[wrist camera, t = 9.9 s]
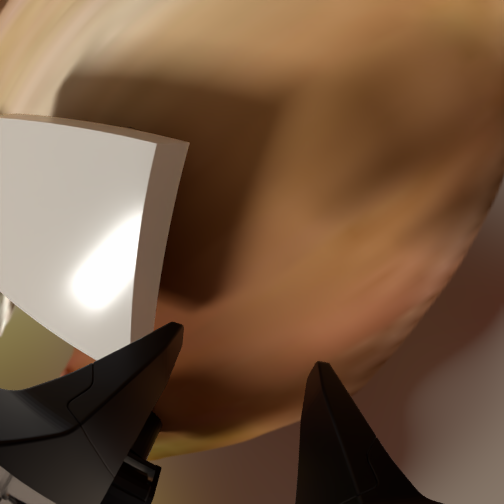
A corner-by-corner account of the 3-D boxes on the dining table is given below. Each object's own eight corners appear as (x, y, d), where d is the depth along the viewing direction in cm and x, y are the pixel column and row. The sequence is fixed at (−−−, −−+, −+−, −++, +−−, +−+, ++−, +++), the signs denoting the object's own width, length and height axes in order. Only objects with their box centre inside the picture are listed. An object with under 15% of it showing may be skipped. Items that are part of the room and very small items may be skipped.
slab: (151, 345, 16) (130, 378, 13) (13, 265, 16) (-11, 281, 13) (189, 142, 11) (156, 143, 8) (16, 113, 11) (-17, 116, 8)
